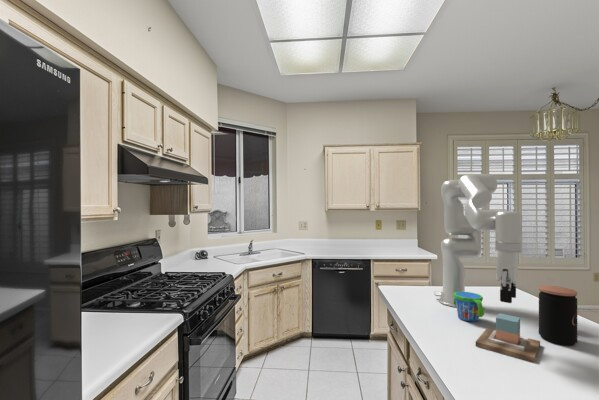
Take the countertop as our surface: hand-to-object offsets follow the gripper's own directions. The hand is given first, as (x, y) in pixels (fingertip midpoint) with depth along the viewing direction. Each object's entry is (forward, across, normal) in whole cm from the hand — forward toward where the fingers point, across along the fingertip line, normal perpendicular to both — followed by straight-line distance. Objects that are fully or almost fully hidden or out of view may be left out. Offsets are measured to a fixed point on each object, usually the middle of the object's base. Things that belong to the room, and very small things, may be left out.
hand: (508, 299), depth 107 cm
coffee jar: (+16, -18, +12) cm, 27 cm away
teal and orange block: (+14, 0, 0) cm, 14 cm away
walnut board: (+16, 0, 0) cm, 16 cm away
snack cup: (+16, -18, -17) cm, 29 cm away
